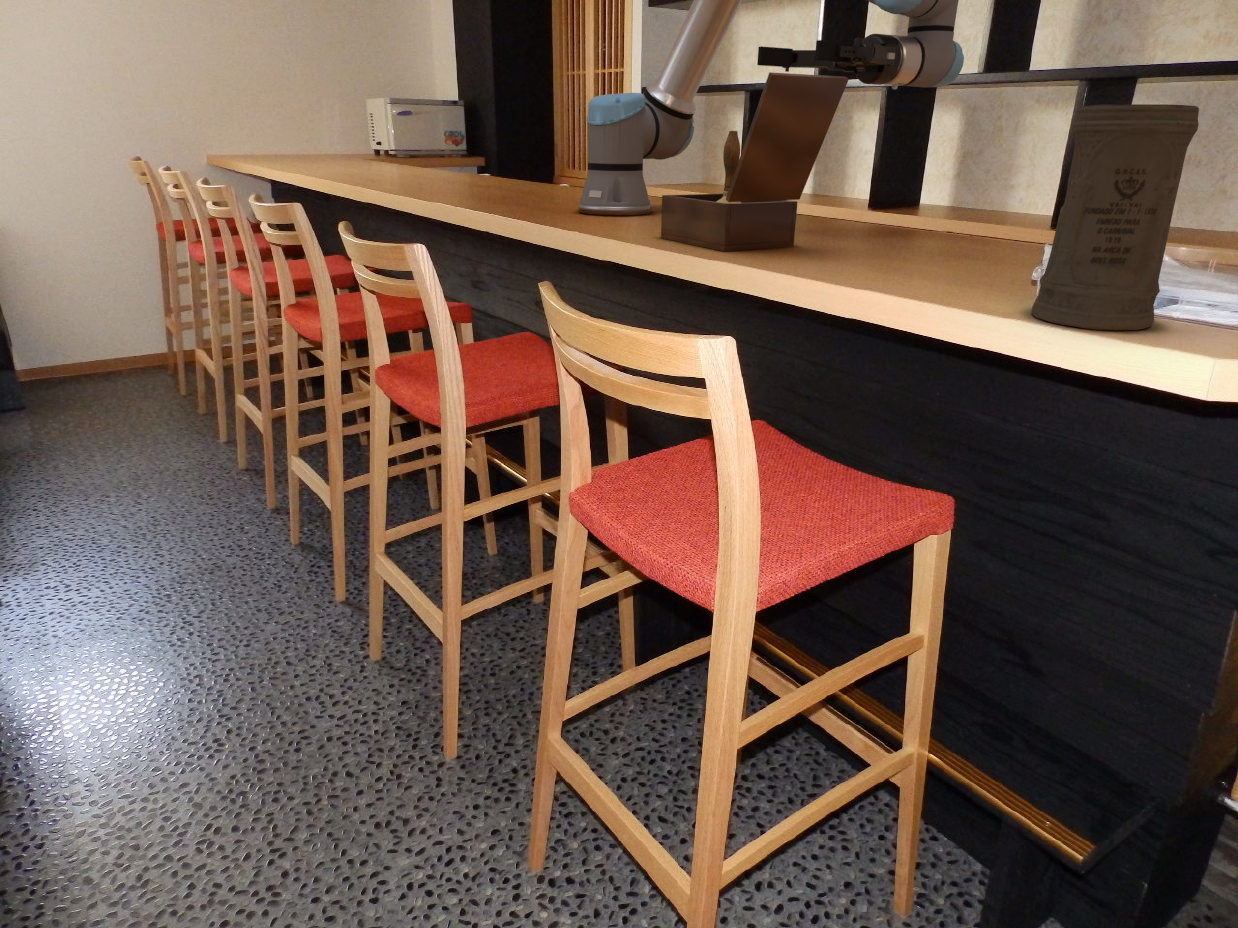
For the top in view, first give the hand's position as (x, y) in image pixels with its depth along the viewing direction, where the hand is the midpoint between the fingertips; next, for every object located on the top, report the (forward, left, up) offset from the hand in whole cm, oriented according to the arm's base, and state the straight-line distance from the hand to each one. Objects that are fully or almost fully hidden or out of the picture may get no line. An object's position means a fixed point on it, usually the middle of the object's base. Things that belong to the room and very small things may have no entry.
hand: (786, 53), depth 130 cm
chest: (+9, -3, -28) cm, 30 cm away
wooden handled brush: (+9, -3, -27) cm, 29 cm away
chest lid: (+13, +8, -12) cm, 20 cm away
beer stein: (+31, +55, -28) cm, 69 cm away
